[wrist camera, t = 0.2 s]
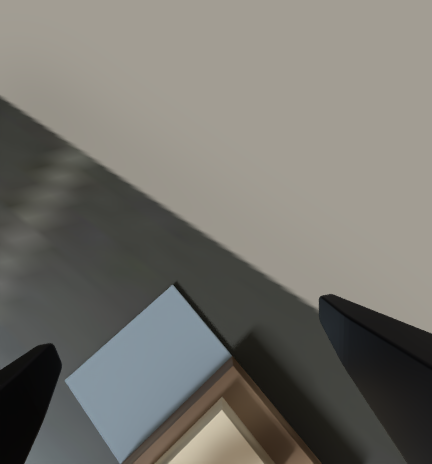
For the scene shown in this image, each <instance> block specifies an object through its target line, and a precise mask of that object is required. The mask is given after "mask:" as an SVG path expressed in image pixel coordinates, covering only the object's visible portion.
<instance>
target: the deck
mask: <svg viewBox="0 0 432 464" xmlns="http://www.w3.org/2000/svg"><path fill="white" fill-rule="evenodd" d="M221 397H223V398H224V400H225V401H226V402H227V403H228V405H229V406H230V407H231V408H232V410H233V411H234V412H235V413H236V415H237V416H238V417H239V418H240V420H241V421H242V422H243V424H244V425H245V426H246V427H247V429H248V430H249V431H250V432H251V434H252V435H253V436H254V437H255V439H256V440H257V441H258V442H259V444H260V445H261V446H262V447H263V449H264V450H265V451H266V453H267V454H268V455H269V456H270V458H271V459H272V460H273V461H274V463H275V464H322V463H321V462H320V461H319V459H318V458H317V457H316V456H315V455H314V453H313V452H312V451H311V450H310V449H309V447H308V446H307V445H306V444H305V443H304V441H303V440H302V439H301V438H300V437H299V435H298V434H297V433H296V432H295V431H294V429H293V428H292V427H291V426H290V425H289V423H288V422H287V421H286V420H285V419H284V417H283V416H282V415H281V414H280V413H279V411H278V410H277V409H276V408H275V406H274V405H273V404H272V403H271V402H270V400H269V399H268V398H267V397H266V396H265V394H264V393H263V392H262V391H261V390H260V388H259V387H258V386H257V385H256V384H255V382H254V381H253V380H252V379H251V378H250V376H249V375H248V374H247V373H246V372H245V370H244V369H243V368H242V367H241V366H240V364H239V363H238V362H237V361H236V360H235V358H234V357H233V356H232V357H231V358H230V359H229V360H228V361H227V362H225V363H224V364H223V365H222V366H221V367H220V368H219V369H218V370H217V371H216V372H215V373H214V374H213V375H212V376H211V377H210V378H209V379H208V380H207V381H206V382H205V383H204V384H203V385H202V386H201V387H200V388H199V389H198V390H197V391H196V392H195V393H194V394H192V395H191V396H190V397H189V398H188V399H187V400H186V401H185V402H184V403H183V404H182V405H181V406H180V407H179V408H178V409H177V410H176V411H175V412H174V413H173V414H172V415H171V416H170V417H169V418H168V419H167V420H166V421H165V422H164V423H163V424H162V425H161V426H159V427H158V428H157V429H156V430H155V431H154V432H153V433H152V434H151V435H150V436H149V437H148V438H147V439H146V440H145V441H144V442H143V443H142V444H141V445H140V446H139V447H138V448H137V449H136V450H135V451H134V452H133V453H132V454H131V455H130V456H129V457H128V458H126V459H125V460H124V461H123V462H122V463H121V464H155V463H156V462H157V461H158V460H159V459H160V458H161V457H162V456H163V455H164V454H165V453H166V452H167V451H168V450H169V449H170V448H171V447H172V446H173V445H174V444H175V443H176V442H177V441H178V440H179V439H180V438H181V437H182V436H183V435H184V434H185V433H186V432H187V431H188V430H189V429H190V428H191V427H192V426H193V425H194V424H195V423H196V422H197V421H198V420H199V419H200V418H201V417H202V416H203V415H204V414H205V413H206V412H207V411H208V410H209V409H210V408H211V407H212V406H213V405H214V404H215V403H216V402H217V401H218V400H219V399H220V398H221Z"/></svg>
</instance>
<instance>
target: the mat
mask: <svg viewBox="0 0 432 464" xmlns="http://www.w3.org/2000/svg"><path fill="white" fill-rule="evenodd" d="M231 357H232V355H231V354H230V352H229V351H228V350H227V349H226V348H225V346H224V345H223V344H222V343H221V342H220V340H219V339H218V338H217V337H216V336H215V334H214V333H213V332H212V331H211V329H210V328H209V327H208V326H207V325H206V323H205V322H204V321H203V320H202V319H201V317H200V316H199V315H198V314H197V313H196V311H195V310H194V309H193V308H192V307H191V305H190V304H189V303H188V302H187V301H186V299H185V298H184V297H183V296H182V295H181V293H180V292H179V291H178V290H177V289H176V287H175V286H174V285H172V286H171V287H170V288H168V289H167V290H166V291H165V292H164V293H163V294H162V295H161V296H159V297H158V298H157V299H156V300H155V301H154V302H153V303H152V304H150V305H149V306H148V307H147V308H146V309H145V310H144V311H143V312H141V313H140V314H139V315H138V316H137V317H136V318H135V319H133V320H132V321H131V322H130V323H129V324H128V325H127V326H126V327H124V328H123V329H122V330H121V331H120V332H119V333H118V334H117V335H115V336H114V337H113V338H112V339H111V340H110V341H109V342H108V343H106V344H105V345H104V346H103V347H102V348H101V349H100V350H99V351H97V352H96V353H95V354H94V355H93V356H92V357H91V358H90V359H88V360H87V361H86V362H85V363H84V364H83V365H82V366H81V367H79V368H78V369H77V370H76V371H75V372H74V373H73V374H72V375H70V376H69V377H68V378H67V379H66V380H65V382H66V383H67V385H68V386H69V388H70V389H71V391H72V392H73V394H74V395H75V397H76V398H77V400H78V401H79V403H80V404H81V406H82V407H83V409H84V410H85V412H86V413H87V415H88V416H89V418H90V419H91V421H92V422H93V424H94V425H95V427H96V428H97V430H98V431H99V433H100V434H101V436H102V437H103V439H104V440H105V442H106V443H107V445H108V446H109V448H110V449H111V451H112V452H113V454H114V455H115V457H116V458H117V460H118V461H119V463H120V464H121V463H122V462H123V461H124V460H125V459H126V458H128V457H129V456H130V455H131V454H132V453H133V452H134V451H135V450H136V449H137V448H138V447H139V446H140V445H141V444H142V443H143V442H144V441H145V440H146V439H147V438H148V437H149V436H150V435H151V434H152V433H153V432H154V431H155V430H156V429H157V428H158V427H159V426H161V425H162V424H163V423H164V422H165V421H166V420H167V419H168V418H169V417H170V416H171V415H172V414H173V413H174V412H175V411H176V410H177V409H178V408H179V407H180V406H181V405H182V404H183V403H184V402H185V401H186V400H187V399H188V398H189V397H190V396H191V395H192V394H194V393H195V392H196V391H197V390H198V389H199V388H200V387H201V386H202V385H203V384H204V383H205V382H206V381H207V380H208V379H209V378H210V377H211V376H212V375H213V374H214V373H215V372H216V371H217V370H218V369H219V368H220V367H221V366H222V365H223V364H224V363H225V362H227V361H228V360H229V359H230V358H231Z"/></svg>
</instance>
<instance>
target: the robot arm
mask: <svg viewBox="0 0 432 464" xmlns="http://www.w3.org/2000/svg"><path fill="white" fill-rule="evenodd" d="M319 318H320V322H321V324H322V326H323V328H324V330H325V332H326V334H327V336H328V338H329V340H330V341H331V343H332V345H333V347H334V349H335V351H336V353H337V355H338V357H339V359H340V361H341V362H342V364H343V366H344V367H345V369H346V371H347V372H348V374H349V375H350V377H351V378H352V380H353V381H354V383H355V384H356V386H357V387H358V389H359V391H360V392H361V394H362V395H363V397H364V398H365V400H366V401H367V403H368V404H369V406H370V407H371V409H372V410H373V412H374V413H375V415H376V416H377V418H378V419H379V421H380V423H381V424H382V426H383V427H384V429H385V430H386V432H387V433H388V435H389V436H390V438H391V439H392V441H393V442H394V444H395V445H396V447H397V448H398V450H399V451H400V453H401V455H402V456H403V458H404V459H405V461H406V462H407V464H432V334H431V333H429V332H426V331H424V330H421V329H419V328H416V327H414V326H411V325H408V324H406V323H404V322H401V321H398V320H396V319H393V318H391V317H388V316H386V315H383V314H381V313H378V312H376V311H373V310H371V309H368V308H366V307H363V306H361V305H358V304H356V303H353V302H351V301H348V300H345V299H343V298H341V297H338V296H336V295H333V294H329V295H323V296H320V298H319ZM61 369H62V363H61V360H60V358H59V355H58V353H57V351H56V348H55V346H54V345H53V344H51V343H48V344H43V345H38V346H36V347H35V348H33V349H32V350H30V351H29V352H27V353H26V354H24V355H22V356H21V357H19V358H18V359H16V360H15V361H13V362H12V363H10V364H9V365H7V366H6V367H4V368H3V369H1V370H0V464H24V463H25V461H26V459H27V457H28V454H29V452H30V450H31V448H32V445H33V443H34V441H35V439H36V437H37V434H38V432H39V430H40V428H41V425H42V423H43V420H44V418H45V415H46V412H47V410H48V407H49V404H50V401H51V398H52V395H53V392H54V390H55V387H56V384H57V381H58V378H59V375H60V372H61Z"/></svg>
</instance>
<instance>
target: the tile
mask: <svg viewBox="0 0 432 464" xmlns="http://www.w3.org/2000/svg"><path fill="white" fill-rule="evenodd" d="M155 464H275V463H274V461H273V460H272V459H271V458H270V456H269V455H268V454H267V453H266V451H265V450H264V449H263V447H262V446H261V445H260V444H259V442H258V441H257V440H256V439H255V437H254V436H253V435H252V434H251V432H250V431H249V430H248V429H247V427H246V426H245V425H244V424H243V422H242V421H241V420H240V418H239V417H238V416H237V415H236V413H235V412H234V411H233V410H232V408H231V407H230V406H229V405H228V403H227V402H226V401H225V400H224V398H223V397H221V398H220V399H219V400H218V401H217V402H216V403H215V404H214V405H213V406H212V407H211V408H210V409H209V410H208V411H207V412H206V413H205V414H204V415H203V416H202V417H201V418H200V419H199V420H198V421H197V422H196V423H195V424H194V425H193V426H192V427H191V428H190V429H189V430H188V431H187V432H186V433H185V434H184V435H183V436H182V437H181V438H180V439H179V440H178V441H177V442H176V443H175V444H174V445H173V446H172V447H171V448H170V449H169V450H168V451H167V452H166V453H165V454H164V455H163V456H162V457H161V458H160V459H159V460H158V461H157V462H156V463H155Z"/></svg>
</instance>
